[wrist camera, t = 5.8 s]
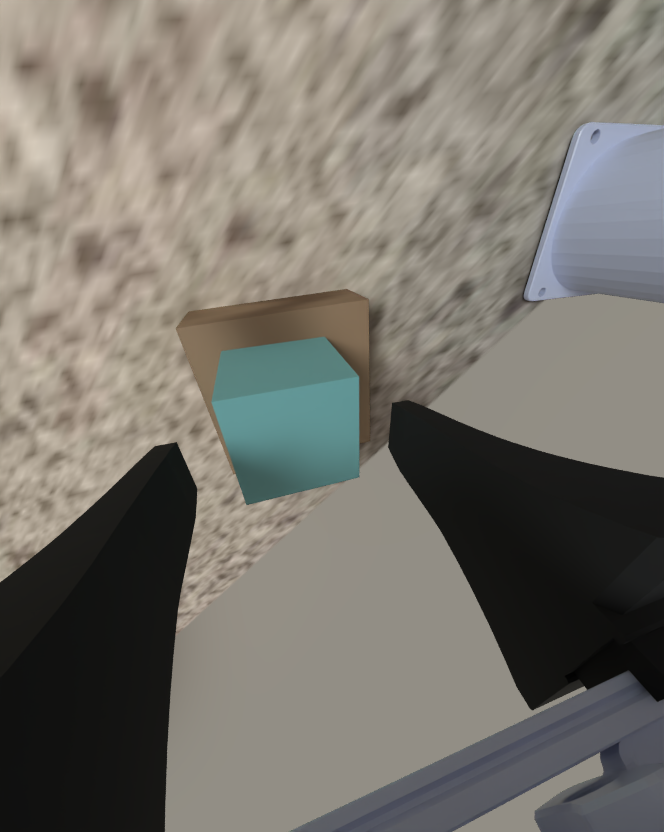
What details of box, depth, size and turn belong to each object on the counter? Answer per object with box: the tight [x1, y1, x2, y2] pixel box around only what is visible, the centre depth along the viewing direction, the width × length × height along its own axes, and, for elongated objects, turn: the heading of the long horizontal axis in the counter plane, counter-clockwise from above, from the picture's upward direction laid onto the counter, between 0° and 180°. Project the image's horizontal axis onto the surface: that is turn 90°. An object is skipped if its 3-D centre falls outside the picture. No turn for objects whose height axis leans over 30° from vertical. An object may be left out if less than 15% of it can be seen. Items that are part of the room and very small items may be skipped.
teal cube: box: [211, 337, 359, 505], centre depth 11 cm, size 4×4×4 cm
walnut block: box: [176, 289, 370, 474], centre depth 15 cm, size 8×8×4 cm
